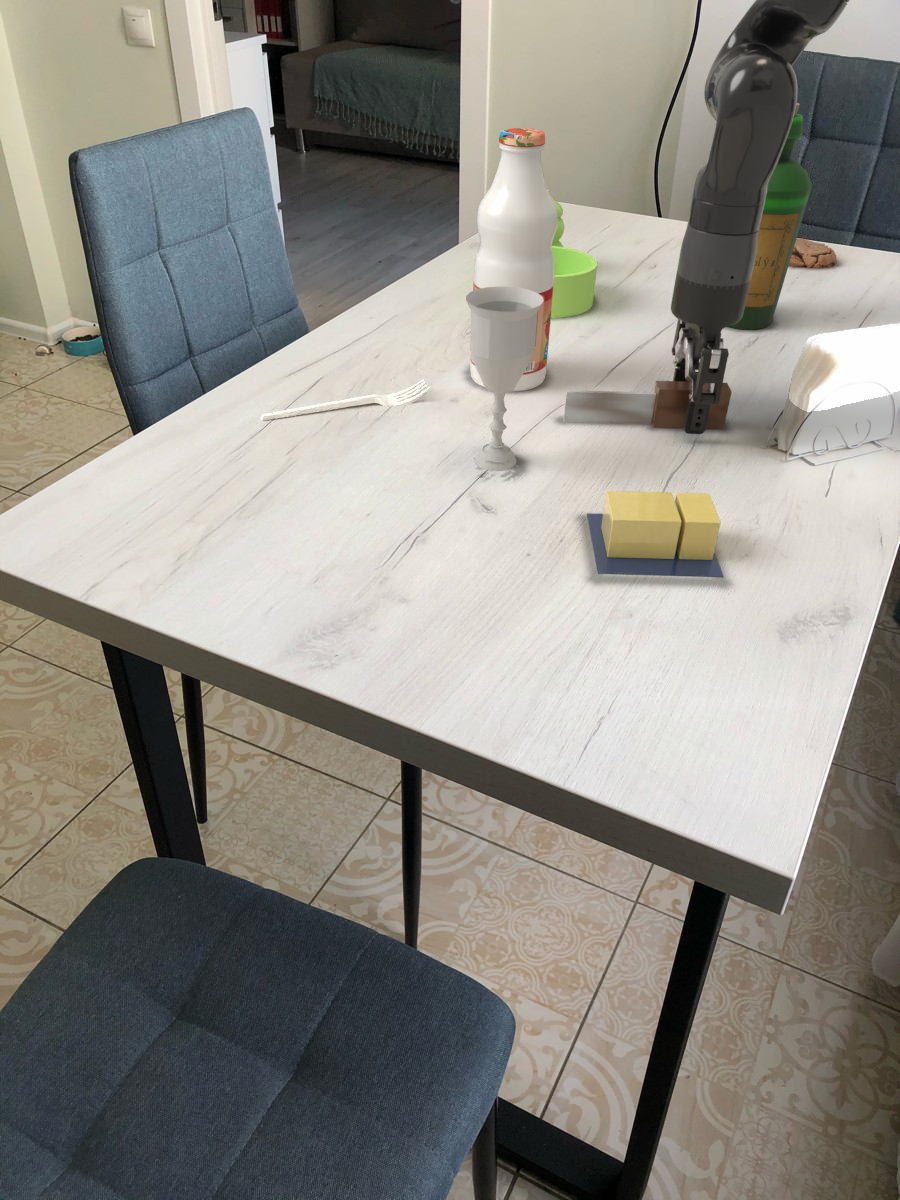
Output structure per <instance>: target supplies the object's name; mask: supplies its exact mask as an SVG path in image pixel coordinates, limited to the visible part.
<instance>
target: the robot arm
mask: <svg viewBox="0 0 900 1200" xmlns="http://www.w3.org/2000/svg"><path fill="white" fill-rule="evenodd" d="M850 1H851V0H755V1H754V2H753V3H752V4H751V6H750V7H749V9H747V11H746V12H745V14H744V15H743V16H742V18H741V19H740V21H738V23H737V24H736V26H735V28H734V29H733V30H732V31H731V33H730V35H728V37H727V38H726V40H725V42H724V43H723V44H722V46H721V48H719V49H720V50H719V51H718V53H717V55H716V57H715V58H714V60H713V62H712V63H711V66H710V69H709V71H708V73H707V76H706V79H705V84H704V93H703V94H704V95H703V97H704V102H705V106H706V109H707V111H708V113H709V115H710V116H711V118H713V119H714V120H715V122H716V123H715V129H714V134H713V138H712V143H711V147H710V152H709V154H708V155H709V157H708V161H706V162H705V163H703V164H702V165H701V167H700V168H699V169H698V172H697V175H696V178H695V182H694V186H693V191H692V196H691V202H690V208H689V214H688V220H687V221H688V222H687V224H686V229H685V233H684V235H683V238H682V242H681V246H680V251H679V258H678V263H677V268H676V275H675V280H674V286H673V290H672V291H673V293H672V297H671V298H672V299H671V304H670V312H671V313H672V316H674V317H675V318H676V319H677V323H676V327H675V334H674V338H673V343H672V348H671V354H672V356H674V359H673V361H672V362H673V363H672V364H673V367H674V373H673V378H672V381H684V382H689V384H690V385H689V402H688V407H687V412H686V417H685V422H684V429H683V430H684V433H685V434H688V435H702V434H704V433H705V431H706V429H705V427H706V423H707V418H708V413H709V408H710V405H718V403H719V401H720V394H721V389H722V384H723V383H724V378H725V372H726V368H727V364H728V358H729V348H726V347H725V348H724V338H723V337H722V330H723V329H725V328H728V327H727V326H729V325H734V324H736V323H738V322H739V321H740V320H741V319H742V317H743V313H744V309H745V304H746V299H747V295H748V290H749V286H750V281H751V277H752V272H753V268H754V263H755V259H756V253H757V244H758V234H759V228H760V223H761V219H762V214H763V209H764V205H765V200H766V195H767V189H768V183H769V181H770V178H771V176H772V174H773V172H774V169H775V167H776V165H777V163H778V160H779V157H780V155H781V152H782V150H783V147H784V145H785V142H786V139H787V137H788V134H789V131H790V128H791V125H792V122H793V118H794V114H795V109H796V103H798V88H799V87H798V80H797V75H796V72H795V70H794V68H793V66H794V65H795V64H796V62H797V60H798V59H799V57H800V56H801V55H802V53H803V52H804V50H805V49H806V47H807V46H808V45H809V43H810V42H811V41H812V40H813V39H814V38H816V37H817V36H820V35H823V34H825V33H826V32H828V31H829V30H830V29H831V28H832V27H833V26H834V24H835V23H836V22H837V21H838V19H839V18H840V17H841V15H842V13H843V12H844V10H845V9H846V7H847V6H848V3H849V2H850ZM705 383H707V384H708V391H702V389H703V385H704V384H705Z"/></svg>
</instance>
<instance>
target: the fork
mask: <svg viewBox="0 0 900 1200" xmlns="http://www.w3.org/2000/svg"><path fill="white" fill-rule="evenodd" d="M430 389H431V386H429V384H428V383H427V381H425V379H421V380H420V381H418V382H417V383H415V384H413V385H411V386H409V387H407V388H405V389H403V390H400V391H397V392H393V393H390V394H377V393H374V394H368V395H362V396H356V397H351V398H344V399H340V400H333V401H328V402H323V403H317V404H312V405H311V404H310V405H306V406H301V407H294V408H289V409H284V410H278V411H274V412H268V413H263V414H261V415H260V420H261V421H264V422H265V421H269V420H275V419H281V418H282V419H283V418H289V417H294V416H299V415H308V414H312V413H319V412H325V411H331V410H337V409H344V408H351V407H355V406H362V405H368V404H378V405H380V406H383V407H396V406H403V405H411V404H412V403H413V402H415V401H417V400H419V399H420V398H421V397H422V396H423V395H424V394H426V393H427V392H428V391H429V390H430Z"/></svg>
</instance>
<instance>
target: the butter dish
mask: <svg viewBox="0 0 900 1200" xmlns="http://www.w3.org/2000/svg"><path fill="white" fill-rule="evenodd" d="M604 497H605V498H604V505H603V512H602V513H592V512H591V513H589V512H588V513H586V517H587V523H588V528H589V533H590V538H591V545H592V550H593V557H594V560H595V565H596V571H597V574H598V575H617V576H618V575H619V576H621V575H622V576H624V575H625V576H657V577H658V576H659V577H692V578H724V574H723V571H722V569H721V565H720V563H719V561H718V558H717V555H716V552H715V551H714V554H713V558H712V560H688V559H679V557H678V554H677V551H676V547H677V542H678V537H679V532H680V527H681V522H682V521H681V518H680V515H679V512H678V510H677V507H676V504H675V497H674V495H673V492H668V491H667V492H662V491H631V490H630V491H627V490H606V491H605V496H604Z"/></svg>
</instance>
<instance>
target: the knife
mask: <svg viewBox="0 0 900 1200" xmlns="http://www.w3.org/2000/svg"><path fill="white" fill-rule="evenodd" d="M689 385H690V384H689V382H684V381H673V380H655V384H654V390H653V392H646V391H614V390H613V391H611V390H578V389H577V390H575V389H572V390H571V389H566V390H565V391H566V392H565V402H564V411H563V419H562V420H563V422H564V423H596V424H597V423H599V424H600V423H601V424H633V425H636V424H637V425H651V427H652V428H653V429H680V430H681V429H682V430H684V422H685V417H686V412H687V407H688V402H689ZM702 391H708V384H707V383H705V384H704V385H703V389H702ZM731 397H732V389H731V387H730V385H729V384H728V382H723V384H722V389H721V394H720V401H719V403H718V405H710V408H709V413H708V418H707V423H706V427H705V430H715V431H717V430H719V431H721V430H723V431H724V428H725V425H726V420H727V417H728V416H727V415H728V411H729V405H730V402H731Z"/></svg>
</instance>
